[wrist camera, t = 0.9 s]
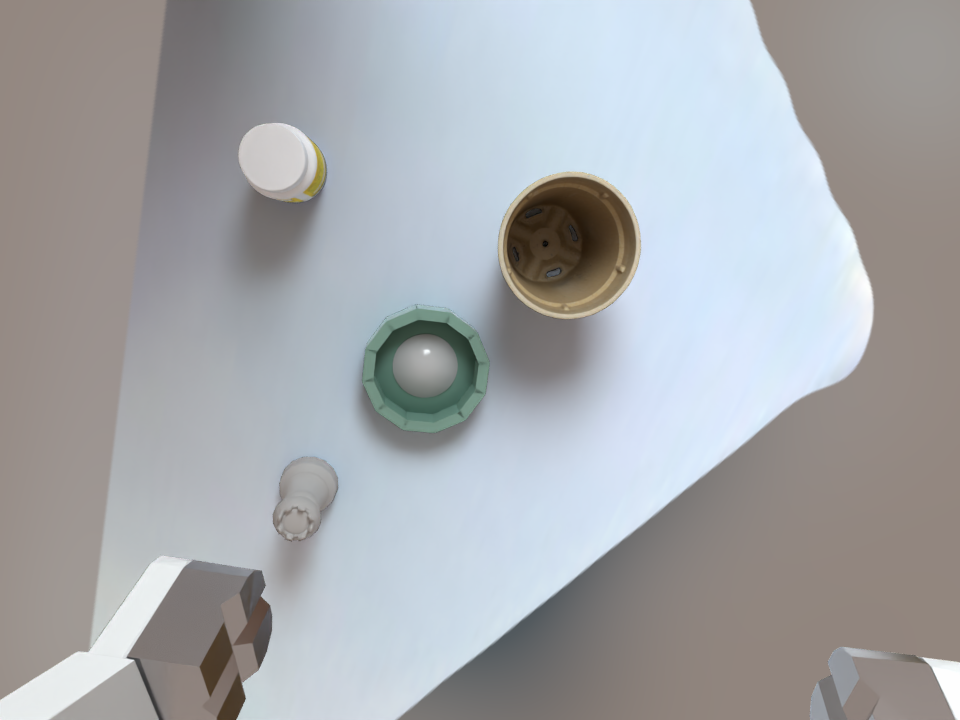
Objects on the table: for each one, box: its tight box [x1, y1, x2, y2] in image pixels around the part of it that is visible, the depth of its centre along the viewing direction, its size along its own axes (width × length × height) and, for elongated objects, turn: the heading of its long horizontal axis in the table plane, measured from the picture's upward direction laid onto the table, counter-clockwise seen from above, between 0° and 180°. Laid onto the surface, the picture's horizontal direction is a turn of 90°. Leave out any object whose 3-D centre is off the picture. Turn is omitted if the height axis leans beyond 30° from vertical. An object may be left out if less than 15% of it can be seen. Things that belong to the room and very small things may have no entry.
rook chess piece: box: [273, 457, 338, 542], centre depth 49 cm, size 4×4×8 cm
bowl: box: [362, 304, 490, 433], centre depth 51 cm, size 9×9×3 cm
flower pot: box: [498, 172, 641, 319], centre depth 48 cm, size 9×9×9 cm
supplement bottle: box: [238, 123, 327, 203], centre depth 45 cm, size 5×5×8 cm
